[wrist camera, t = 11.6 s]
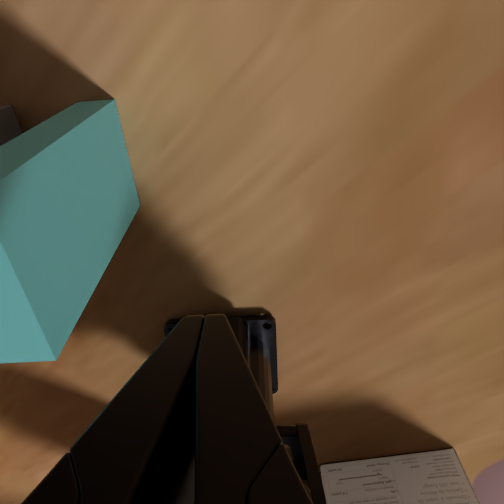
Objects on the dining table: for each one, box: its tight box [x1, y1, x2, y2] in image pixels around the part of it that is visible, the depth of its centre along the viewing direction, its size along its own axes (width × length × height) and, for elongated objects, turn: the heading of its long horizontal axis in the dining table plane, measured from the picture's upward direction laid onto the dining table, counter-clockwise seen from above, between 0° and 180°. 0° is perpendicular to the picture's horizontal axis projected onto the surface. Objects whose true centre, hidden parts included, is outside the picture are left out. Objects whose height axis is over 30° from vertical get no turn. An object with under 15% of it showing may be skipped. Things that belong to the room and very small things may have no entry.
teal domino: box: [0, 99, 140, 363], centre depth 14 cm, size 5×2×10 cm, turn 4°
